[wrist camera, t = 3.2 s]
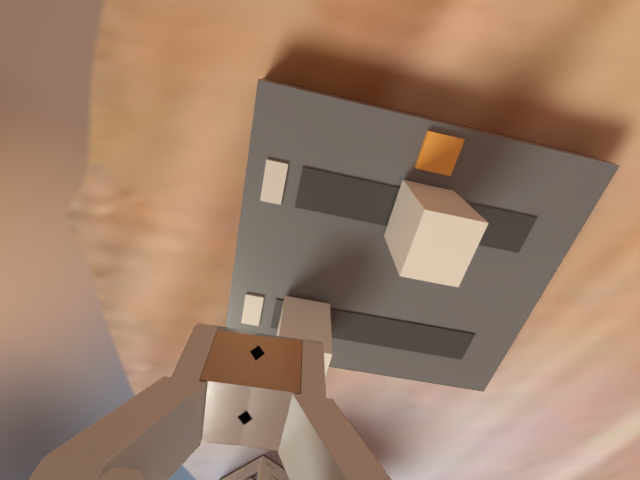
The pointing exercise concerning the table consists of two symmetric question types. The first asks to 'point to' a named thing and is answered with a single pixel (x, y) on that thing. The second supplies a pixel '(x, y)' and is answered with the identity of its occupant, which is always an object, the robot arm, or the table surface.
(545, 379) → the table surface
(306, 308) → the white slider knob
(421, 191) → the block
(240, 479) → the light bulb box
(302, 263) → the panel
